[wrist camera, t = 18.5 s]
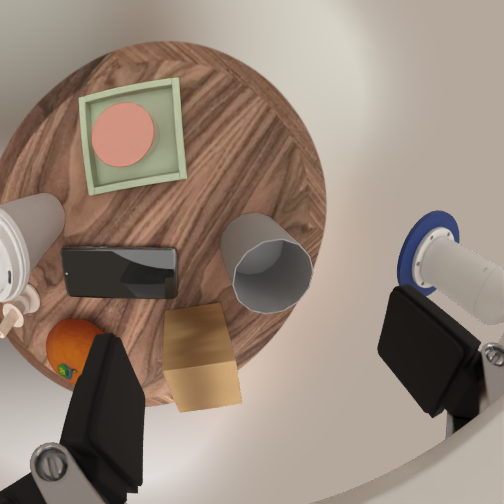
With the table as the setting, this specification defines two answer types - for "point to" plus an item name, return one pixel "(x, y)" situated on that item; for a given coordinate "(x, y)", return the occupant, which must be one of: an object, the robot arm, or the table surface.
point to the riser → (199, 358)
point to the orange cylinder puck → (125, 134)
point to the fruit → (70, 347)
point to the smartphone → (120, 272)
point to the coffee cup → (26, 239)
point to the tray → (164, 156)
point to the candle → (19, 309)
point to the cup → (265, 264)
